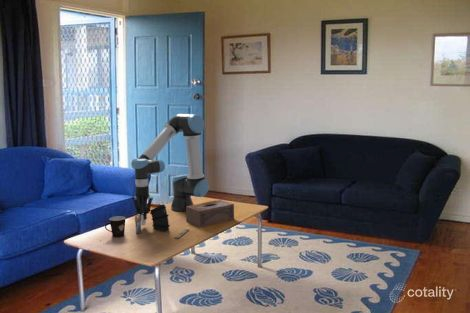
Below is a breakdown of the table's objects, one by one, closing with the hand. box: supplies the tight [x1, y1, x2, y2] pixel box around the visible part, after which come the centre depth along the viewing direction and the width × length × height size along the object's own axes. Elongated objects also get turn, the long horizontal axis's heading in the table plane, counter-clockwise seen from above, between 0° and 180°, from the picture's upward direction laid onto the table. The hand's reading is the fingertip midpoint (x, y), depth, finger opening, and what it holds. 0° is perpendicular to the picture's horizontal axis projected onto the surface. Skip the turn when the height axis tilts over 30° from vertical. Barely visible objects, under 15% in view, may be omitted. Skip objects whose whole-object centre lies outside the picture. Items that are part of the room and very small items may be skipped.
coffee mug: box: [104, 215, 126, 238], centre depth 266 cm, size 12×9×10 cm
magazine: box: [149, 204, 171, 233], centre depth 276 cm, size 4×13×15 cm, turn 49°
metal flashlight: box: [134, 214, 142, 235], centre depth 270 cm, size 3×3×10 cm
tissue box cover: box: [185, 199, 235, 228], centre depth 294 cm, size 26×14×10 cm, turn 128°
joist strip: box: [174, 228, 190, 240], centre depth 268 cm, size 16×2×1 cm, turn 164°
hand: (143, 224), depth 281 cm, fingers closed
